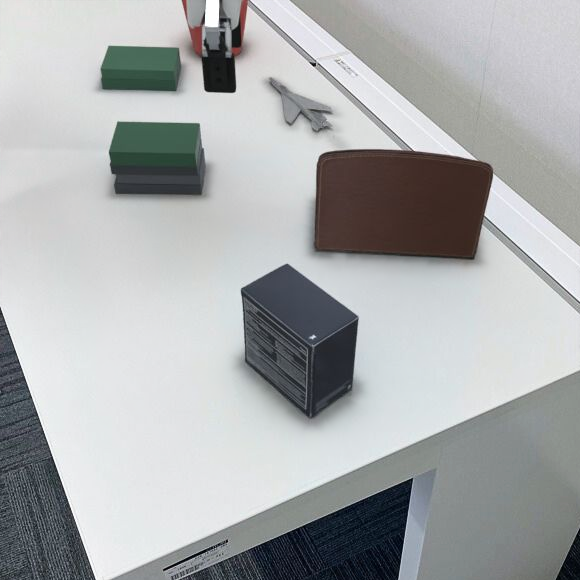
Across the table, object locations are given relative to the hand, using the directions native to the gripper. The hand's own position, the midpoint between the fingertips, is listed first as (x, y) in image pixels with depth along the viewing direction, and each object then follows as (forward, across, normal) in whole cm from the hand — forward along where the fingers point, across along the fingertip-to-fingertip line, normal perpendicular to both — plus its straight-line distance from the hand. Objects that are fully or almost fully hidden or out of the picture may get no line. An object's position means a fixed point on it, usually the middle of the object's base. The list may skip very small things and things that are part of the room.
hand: (223, 67), depth 82 cm
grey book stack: (+20, -8, -10) cm, 24 cm away
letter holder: (+20, +1, +20) cm, 29 cm away
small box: (+21, +25, +8) cm, 34 cm away
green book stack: (+21, -35, -16) cm, 44 cm away
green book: (+16, -8, -10) cm, 21 cm away
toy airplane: (+21, -27, +9) cm, 35 cm away
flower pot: (+21, -46, -5) cm, 50 cm away
